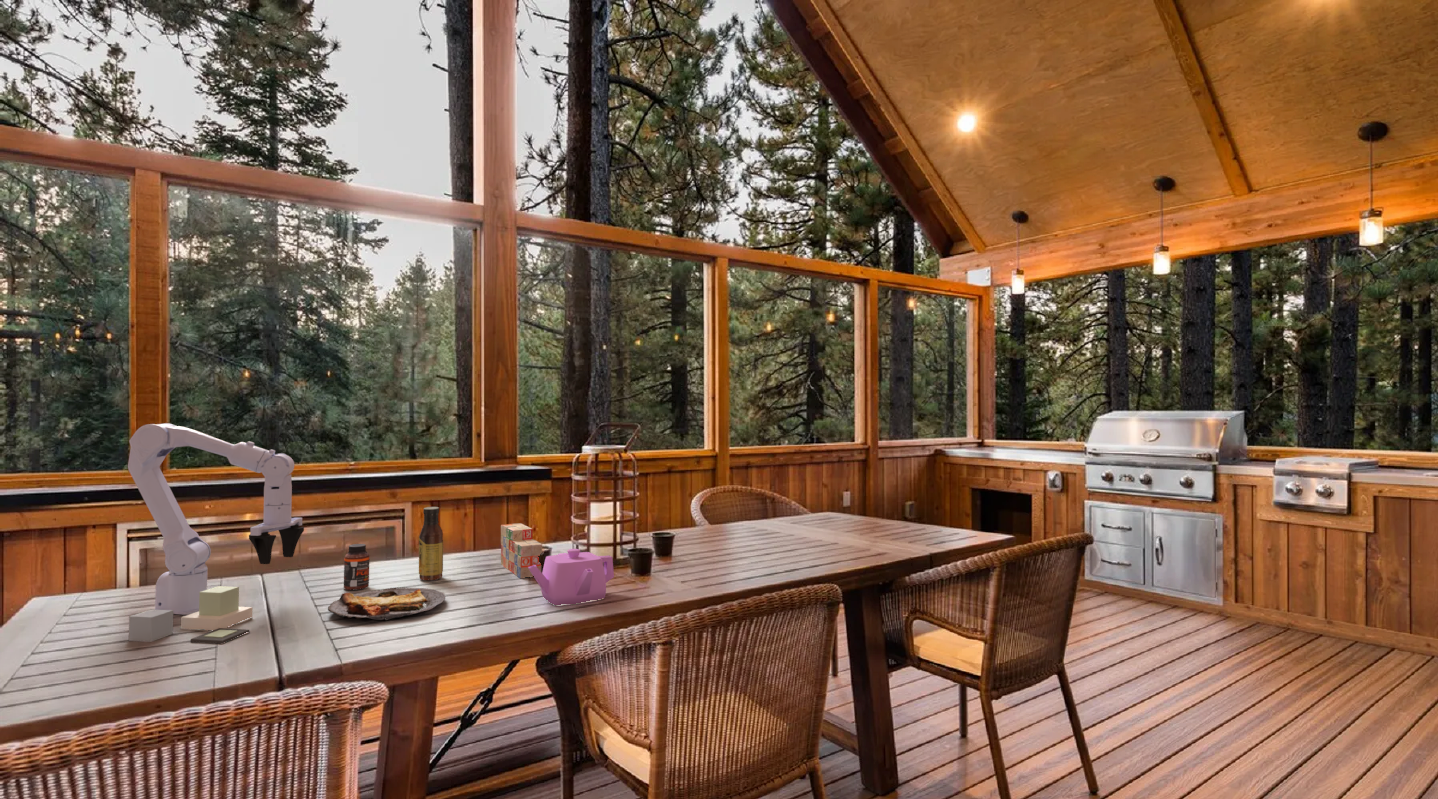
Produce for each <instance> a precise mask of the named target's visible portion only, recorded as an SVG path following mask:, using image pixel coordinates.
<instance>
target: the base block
mask: <svg viewBox="0 0 1438 799" xmlns="http://www.w3.org/2000/svg"><path fill="white" fill-rule="evenodd" d="M250 617H252V618H253V606H252V607H251V606H239V610H236V611H233V612H230V613H227V614H225V615H222V616H207V615H199V611H198V612H195V613H192V614H189V615H183V616H181V617H180V629H181V630H191V629H205V630H204V631H208V630H216V629H218V628H227V627H228V626H231V625H232V624H236V623H238V622H240V621H242V620H245V619H247V618H250ZM236 625H237V624H236ZM231 627H232V626H231ZM228 628H229V627H228ZM228 628H227V629H228Z"/></svg>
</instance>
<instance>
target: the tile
mask: <svg viewBox="0 0 1438 799" xmlns="http://www.w3.org/2000/svg"><path fill="white" fill-rule="evenodd" d="M246 632H249V633H250V629H246V628H245V629H243V628H242V629H241V628H218V629H216V630H213V631H209V632H206V633H203V634H200V635H197V636H195V637H192V638H190V642H191V643H201V642H205V644H219V643H223V644H225V643H227V642H226V641H228V640H230V641H232V640H234V639H233V638H235V637H237V636H240V635H242V634H244V633H246ZM242 636H243V635H242ZM240 637H241V636H240ZM237 638H238V637H237ZM231 639H232V640H231ZM235 639H236V638H235ZM224 642H225V643H224ZM228 642H229V641H228Z"/></svg>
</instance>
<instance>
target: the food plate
mask: <svg viewBox="0 0 1438 799" xmlns="http://www.w3.org/2000/svg"><path fill="white" fill-rule="evenodd" d="M445 599H446V595H445V592H443V591H440V590H438V589H434V588H427V587H405V586H400V587H399V586H398V587H390V588H382V589H377V590H370V591H364V592H358V593H351V592H344V593H342V594H341V595H340V598H339V599H337V600H335V601H333V602H331V603H330V604H329V606H328V607H327V611H328V612H329V613H332V614H335V616H340V617H344V618H348V619H350V618H353V617H355V619H362V618H366V619H371V620H379V621H382V620H385V621H388V620H391V619H395V618H402V617H404V616H410V615H413V614H419V613H422V612H424V611H425V612H426V611H429V610H433V608H435V607H436V606H438V605H441V603H443V601H445Z"/></svg>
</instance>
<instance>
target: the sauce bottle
mask: <svg viewBox="0 0 1438 799" xmlns="http://www.w3.org/2000/svg"><path fill="white" fill-rule="evenodd" d="M422 513H423V525H422V528H421V530H420V533H419V535H418V575H419V579H420V581H423V582H424V581H426V582H430V581H431V582H432V581H437V580H440V579H442V577H443V572H444V539H443V538H444V537H443V536H444V533H443V529H442V527H441V526H440V524H439V522H440V520H439V513H440V507H438V506H427V507H424V508H423V510H422Z"/></svg>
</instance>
